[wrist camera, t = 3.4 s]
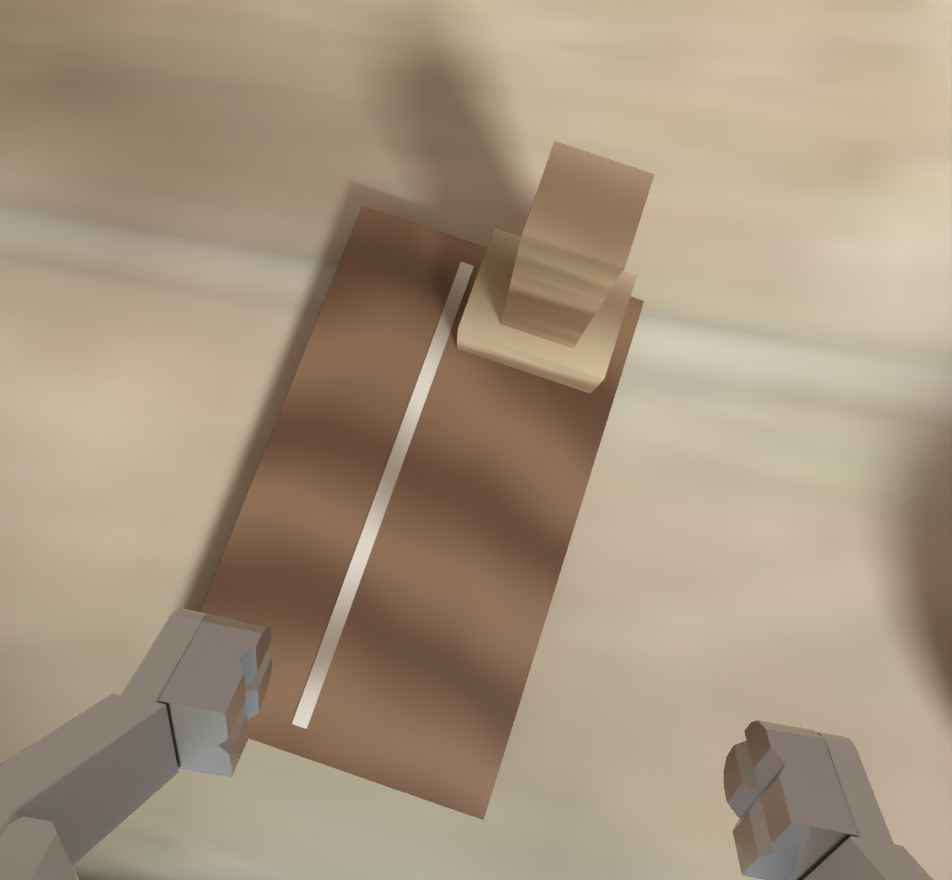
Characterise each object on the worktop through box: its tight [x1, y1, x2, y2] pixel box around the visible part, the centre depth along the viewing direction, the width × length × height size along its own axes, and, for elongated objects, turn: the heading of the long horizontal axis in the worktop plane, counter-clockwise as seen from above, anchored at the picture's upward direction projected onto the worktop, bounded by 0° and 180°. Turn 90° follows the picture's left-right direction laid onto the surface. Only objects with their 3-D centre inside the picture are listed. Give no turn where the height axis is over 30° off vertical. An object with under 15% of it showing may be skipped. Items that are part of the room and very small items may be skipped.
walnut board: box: [200, 206, 644, 820], centre depth 28 cm, size 22×13×2 cm, turn 161°
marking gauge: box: [457, 141, 654, 394], centre depth 24 cm, size 4×6×10 cm
